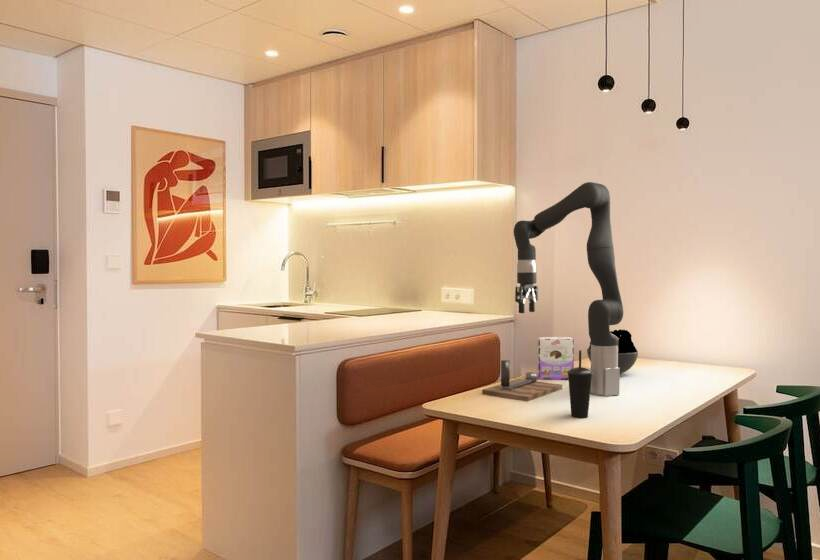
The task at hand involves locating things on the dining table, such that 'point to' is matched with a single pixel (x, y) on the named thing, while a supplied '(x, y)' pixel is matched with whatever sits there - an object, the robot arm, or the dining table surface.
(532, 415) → the dining table surface
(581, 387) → the drinking cup
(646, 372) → the dining table surface
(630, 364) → the bowl of black rocks
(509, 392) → the board
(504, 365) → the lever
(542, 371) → the candy box
